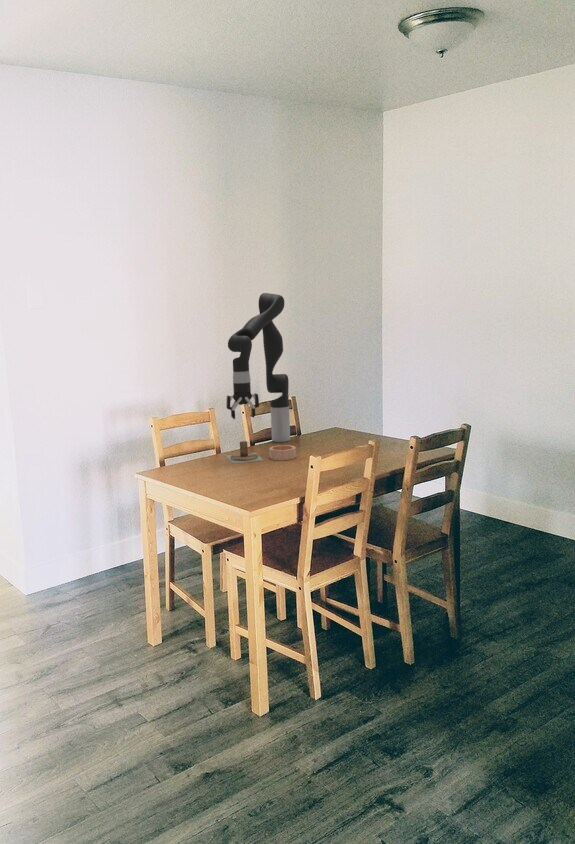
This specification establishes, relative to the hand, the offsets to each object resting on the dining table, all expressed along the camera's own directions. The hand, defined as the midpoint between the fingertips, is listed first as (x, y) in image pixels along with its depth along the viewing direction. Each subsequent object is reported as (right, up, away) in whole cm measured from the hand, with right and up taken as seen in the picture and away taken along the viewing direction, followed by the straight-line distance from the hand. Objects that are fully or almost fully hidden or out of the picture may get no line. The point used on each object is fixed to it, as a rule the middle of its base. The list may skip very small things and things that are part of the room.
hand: (243, 417), depth 315 cm
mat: (0, -18, +3) cm, 19 cm away
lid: (0, -18, +3) cm, 18 cm away
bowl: (+17, -18, +1) cm, 25 cm away
